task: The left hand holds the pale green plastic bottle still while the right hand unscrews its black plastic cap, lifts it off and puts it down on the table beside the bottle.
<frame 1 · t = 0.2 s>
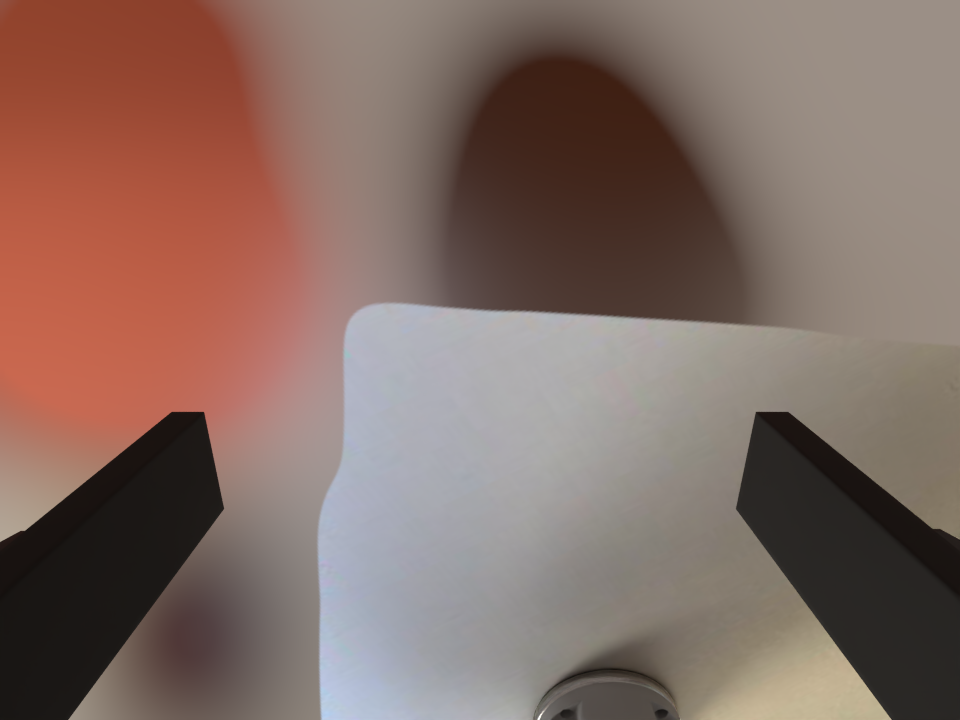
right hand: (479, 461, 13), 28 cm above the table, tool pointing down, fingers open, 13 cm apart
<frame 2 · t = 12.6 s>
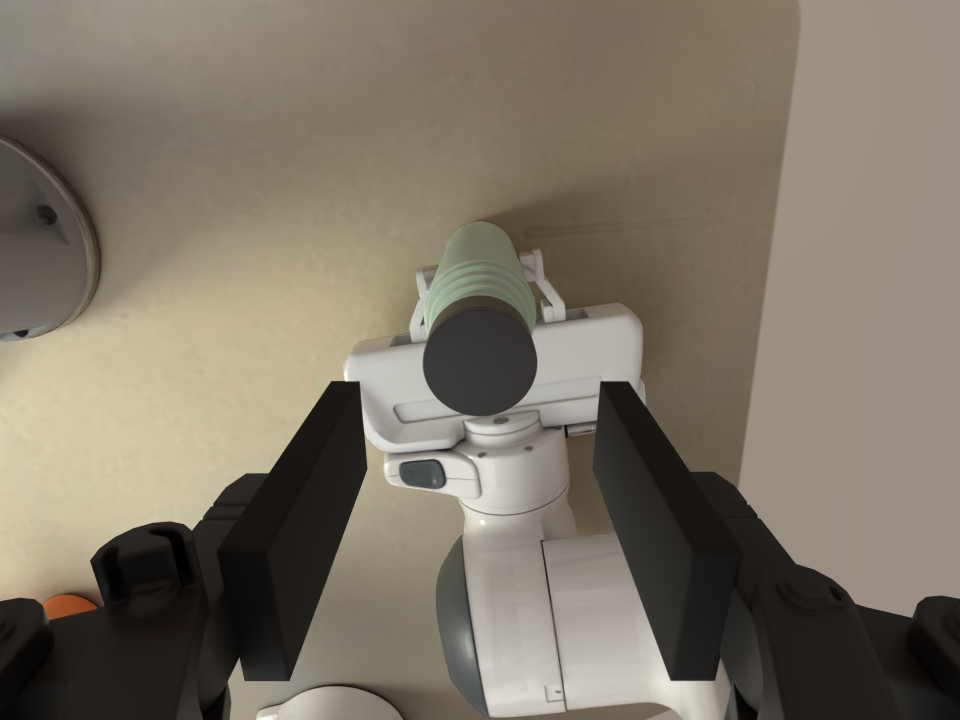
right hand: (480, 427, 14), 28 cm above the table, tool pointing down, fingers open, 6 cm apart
left hand: (477, 259, 34), fingers closed on bottle, 5 cm apart
bottle: (480, 256, 40), on the table, touching left hand
cap: (479, 362, 19), point 23 cm above the table, screwed on, not yet turned
cup with straw: (76, 615, 53), on the table
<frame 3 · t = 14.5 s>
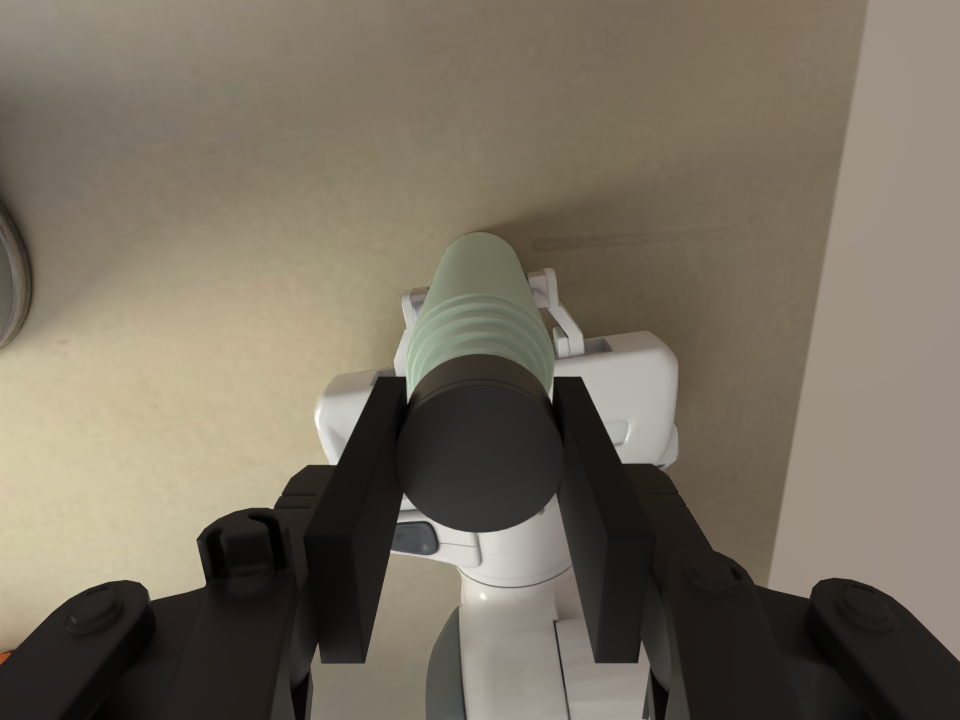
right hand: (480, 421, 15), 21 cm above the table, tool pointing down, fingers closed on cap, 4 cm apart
left hand: (476, 280, 28), fingers closed on bottle, 5 cm apart
bottle: (479, 273, 34), on the table, touching left hand
cap: (479, 456, 13), point 23 cm above the table, screwed on, not yet turned, touching right hand
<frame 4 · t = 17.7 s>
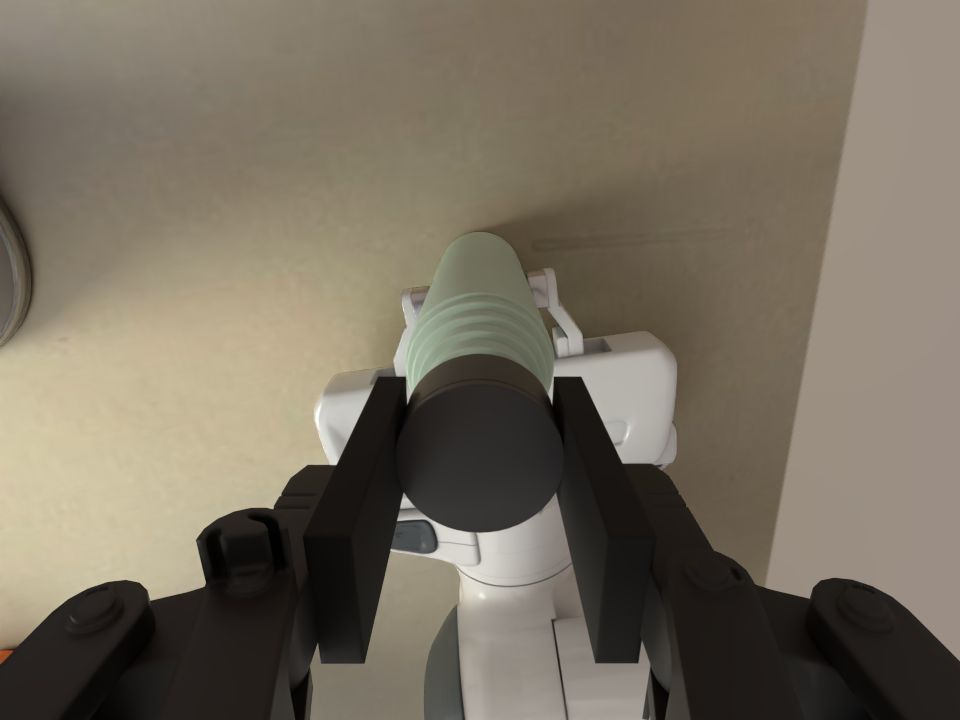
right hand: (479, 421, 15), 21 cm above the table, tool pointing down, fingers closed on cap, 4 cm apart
left hand: (476, 280, 28), fingers closed on bottle, 5 cm apart
bottle: (479, 273, 34), on the table, touching left hand
cap: (479, 456, 13), point 23 cm above the table, turned 108° so far, risen 0.1 cm, still on its thread, touching right hand
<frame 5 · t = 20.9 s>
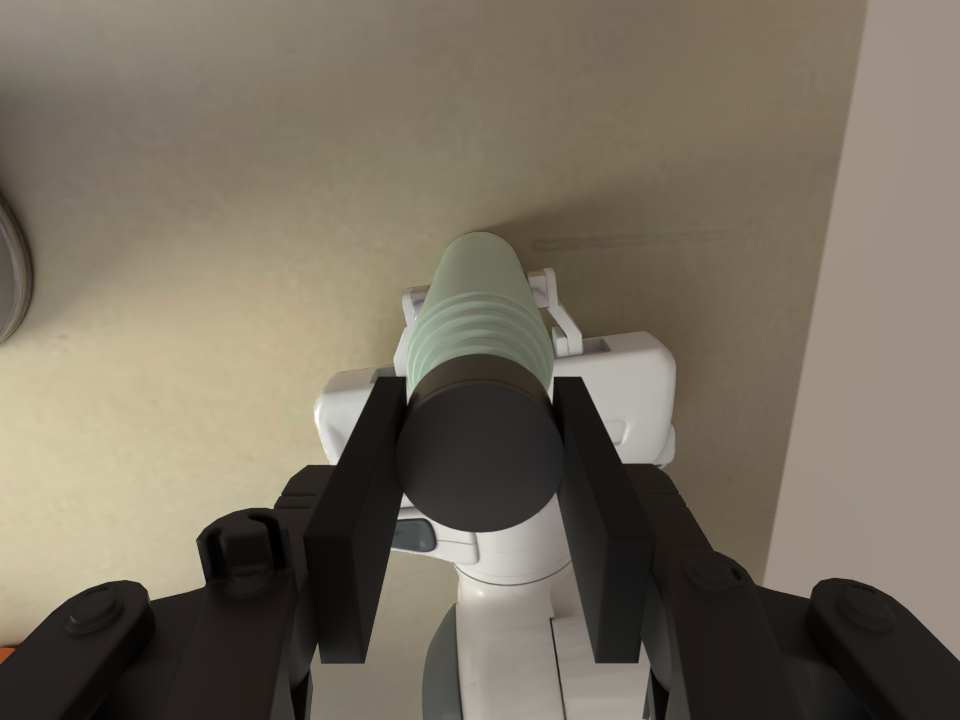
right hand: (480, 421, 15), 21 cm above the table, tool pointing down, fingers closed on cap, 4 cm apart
left hand: (476, 279, 28), fingers closed on bottle, 5 cm apart
bottle: (479, 273, 34), on the table, touching left hand
cap: (479, 456, 13), point 23 cm above the table, turned 215° so far, risen 0.2 cm, still on its thread, touching right hand
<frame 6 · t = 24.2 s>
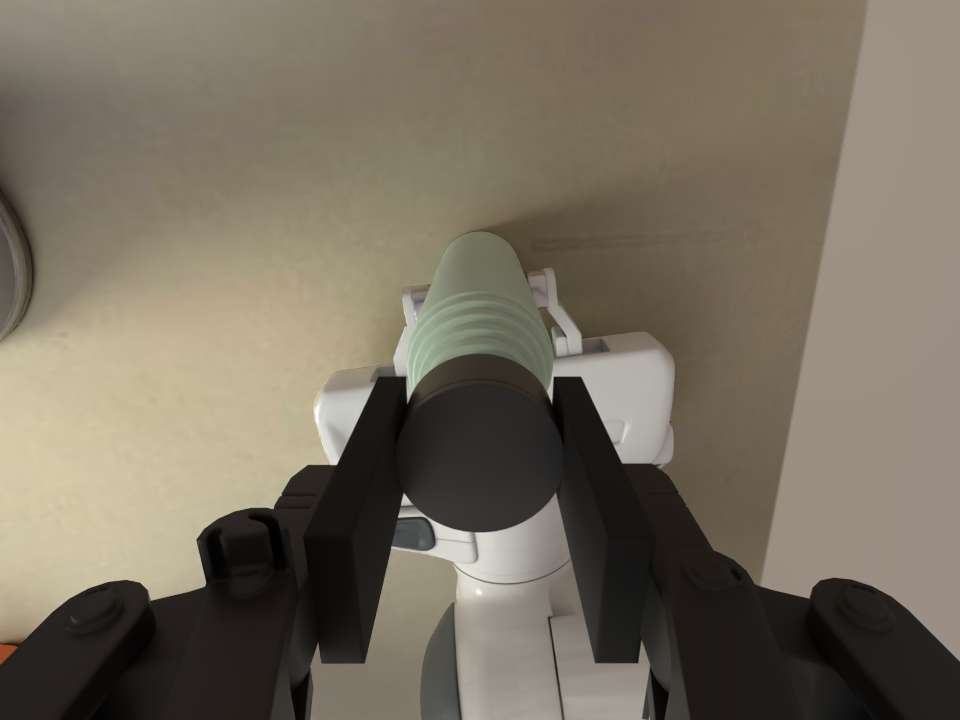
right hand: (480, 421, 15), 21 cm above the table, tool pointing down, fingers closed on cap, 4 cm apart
left hand: (476, 279, 28), fingers closed on bottle, 5 cm apart
bottle: (479, 272, 34), on the table, touching left hand
cap: (479, 456, 13), point 23 cm above the table, turned 323° so far, risen 0.3 cm, still on its thread, touching right hand
cup with straw: (17, 667, 47), on the table
when the right hand's fingers open (1 cm above the table, at t = 32.4 s): cap drops 2 cm, point 2 cm above the table.
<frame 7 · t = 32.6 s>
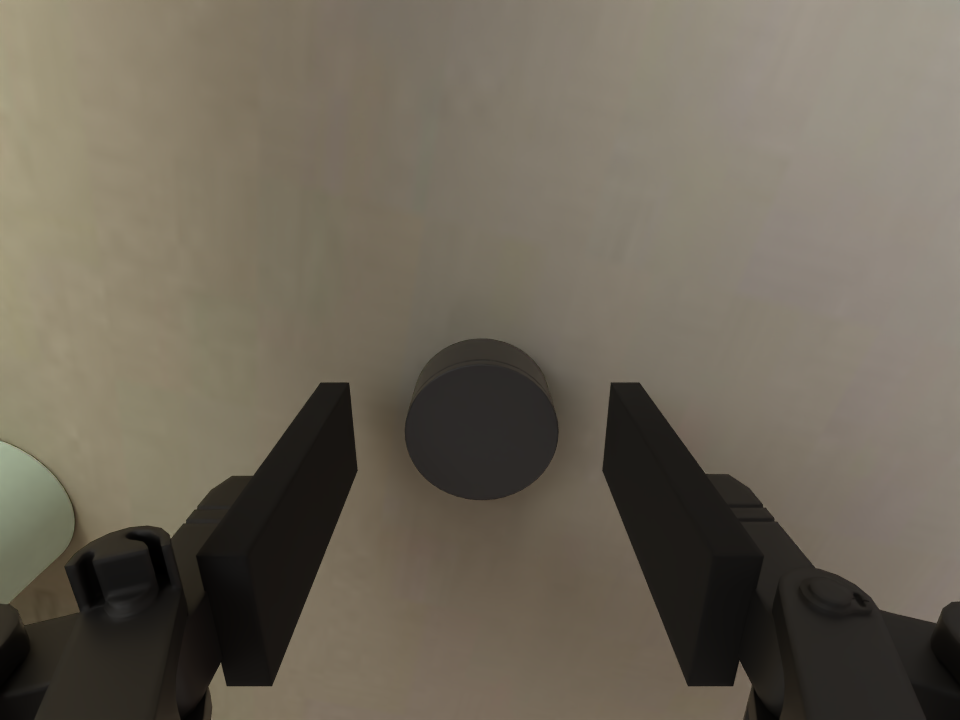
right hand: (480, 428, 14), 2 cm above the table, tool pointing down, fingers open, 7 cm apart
cap: (481, 430, 14), point 2 cm above the table, off its thread
when the left hand's fingers open (6 cm above the table, at t = 33.7 s): bottle stays where it is, on the table.
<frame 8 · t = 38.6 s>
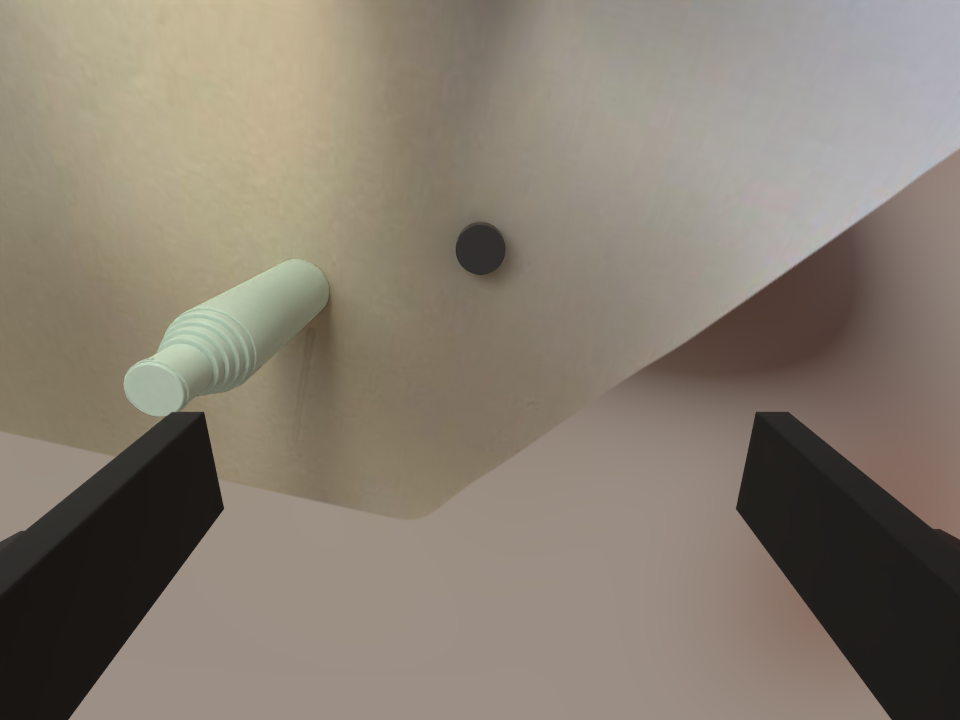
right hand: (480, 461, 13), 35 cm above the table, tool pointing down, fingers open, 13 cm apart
bottle: (299, 288, 47), on the table
cap: (480, 249, 44), point 2 cm above the table, off its thread
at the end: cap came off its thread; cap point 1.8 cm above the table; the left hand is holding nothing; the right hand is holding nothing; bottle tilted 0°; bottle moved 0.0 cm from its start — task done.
